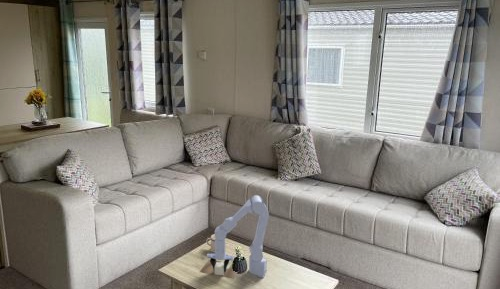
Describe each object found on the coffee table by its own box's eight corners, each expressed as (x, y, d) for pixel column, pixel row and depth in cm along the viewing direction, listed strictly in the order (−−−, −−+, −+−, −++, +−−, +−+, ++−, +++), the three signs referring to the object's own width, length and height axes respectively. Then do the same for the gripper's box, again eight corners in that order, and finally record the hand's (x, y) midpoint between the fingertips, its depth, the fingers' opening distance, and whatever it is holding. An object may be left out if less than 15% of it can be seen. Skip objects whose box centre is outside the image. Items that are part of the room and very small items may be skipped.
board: (241, 266, 227) (241, 260, 226) (233, 280, 214) (233, 273, 213) (209, 260, 233) (209, 254, 232) (199, 273, 220) (199, 267, 219)
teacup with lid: (227, 248, 248) (227, 230, 245) (222, 255, 239) (222, 237, 236) (209, 245, 251) (209, 228, 248) (203, 252, 242) (203, 234, 239)
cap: (225, 270, 221) (225, 263, 220) (223, 275, 216) (223, 268, 215) (216, 269, 222) (216, 262, 221) (214, 274, 217) (214, 267, 216)
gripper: (234, 246, 218) (234, 268, 222) (208, 243, 220) (208, 265, 224) (232, 252, 212) (231, 275, 215) (205, 249, 214) (205, 272, 217)
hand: (220, 270), depth 219 cm, fingers closed on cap, 5 cm apart
